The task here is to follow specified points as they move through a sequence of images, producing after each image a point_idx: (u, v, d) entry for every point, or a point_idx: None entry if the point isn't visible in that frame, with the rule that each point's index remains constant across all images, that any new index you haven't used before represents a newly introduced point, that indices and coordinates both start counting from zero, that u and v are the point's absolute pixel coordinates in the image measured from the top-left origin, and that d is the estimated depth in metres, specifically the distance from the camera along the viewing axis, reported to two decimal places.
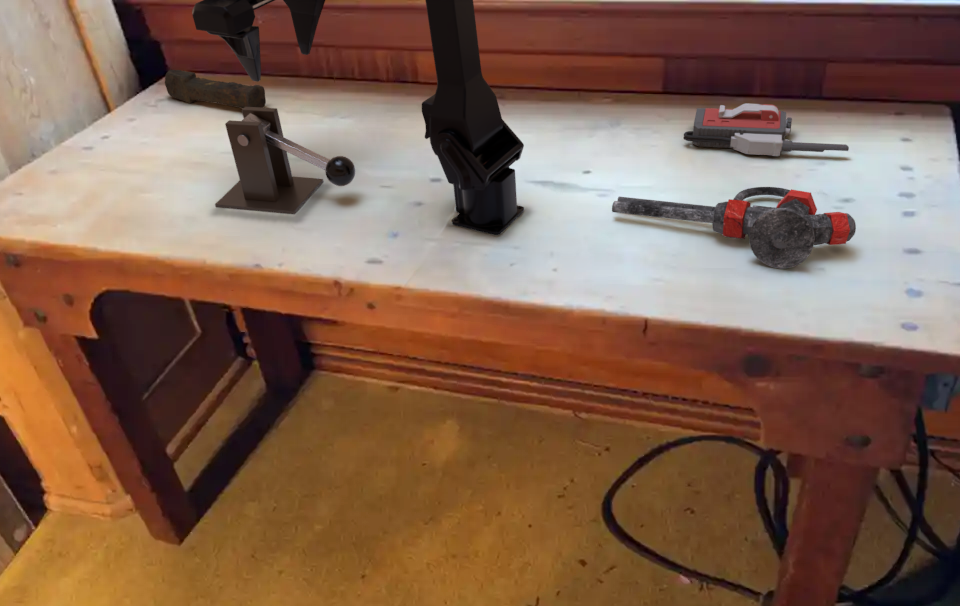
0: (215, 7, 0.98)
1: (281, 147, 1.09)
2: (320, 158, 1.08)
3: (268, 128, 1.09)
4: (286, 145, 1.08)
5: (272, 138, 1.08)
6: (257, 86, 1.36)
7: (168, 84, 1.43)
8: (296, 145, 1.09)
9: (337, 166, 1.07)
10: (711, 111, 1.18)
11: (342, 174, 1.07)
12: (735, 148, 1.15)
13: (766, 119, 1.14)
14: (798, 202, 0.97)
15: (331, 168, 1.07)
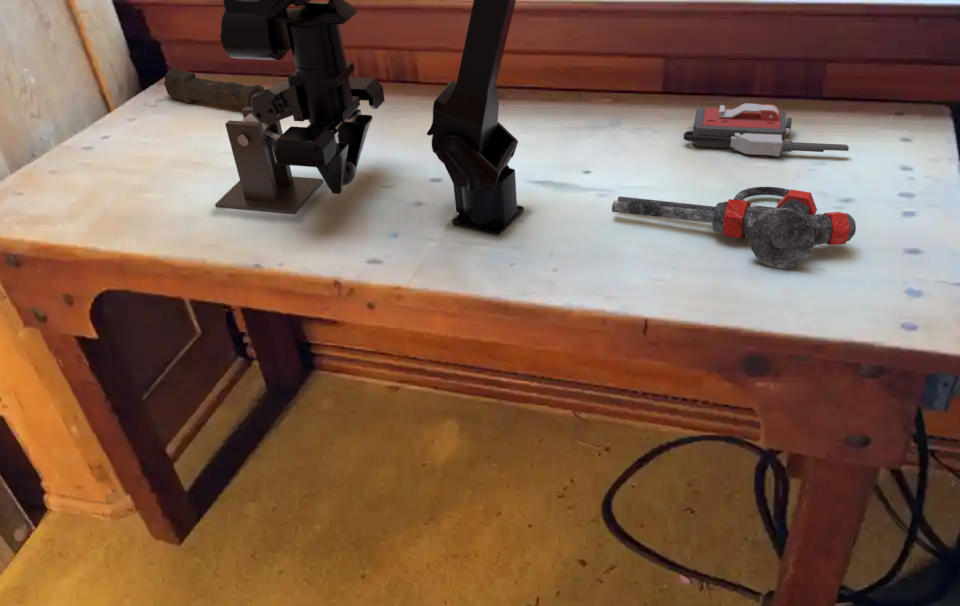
0: (302, 142, 0.97)
1: None
2: None
3: (268, 128, 1.09)
4: None
5: (272, 138, 1.08)
6: (257, 86, 1.36)
7: (167, 84, 1.43)
8: None
9: None
10: (711, 111, 1.18)
11: None
12: (735, 148, 1.15)
13: (766, 119, 1.14)
14: (798, 202, 0.97)
15: None
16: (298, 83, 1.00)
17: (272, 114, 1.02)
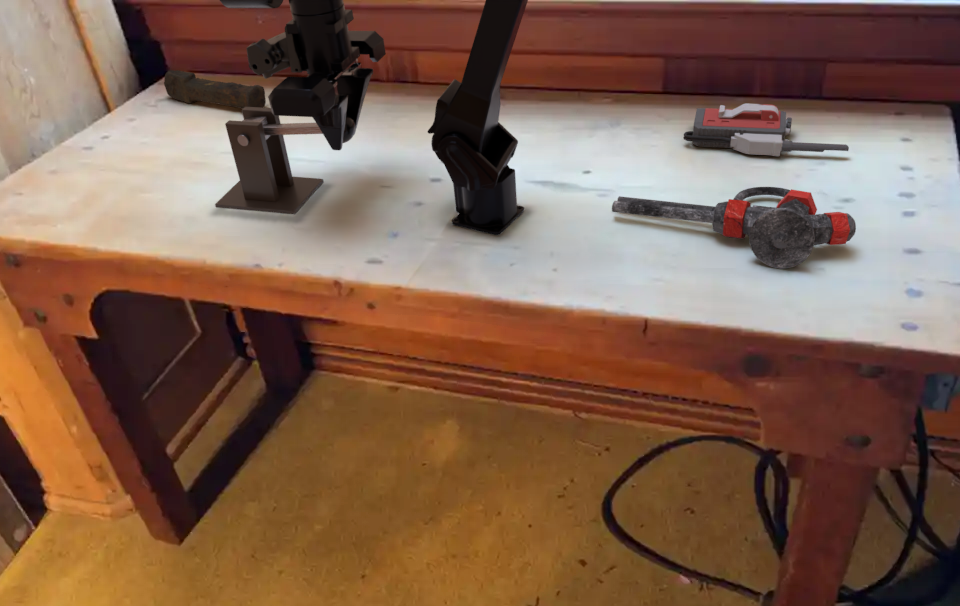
0: (299, 90, 0.93)
1: (281, 132, 1.07)
2: None
3: (265, 122, 1.09)
4: (284, 127, 1.07)
5: (270, 128, 1.07)
6: (257, 86, 1.36)
7: (167, 84, 1.43)
8: (293, 124, 1.07)
9: None
10: (711, 111, 1.18)
11: None
12: (735, 148, 1.15)
13: (766, 119, 1.14)
14: (798, 202, 0.97)
15: None
16: (295, 31, 0.96)
17: (269, 65, 0.98)
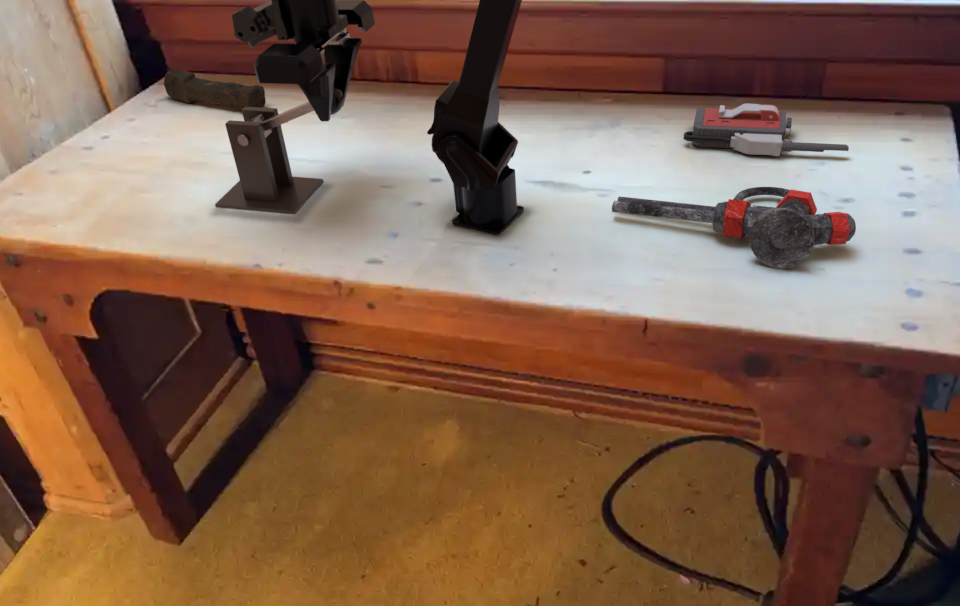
0: (285, 57, 0.91)
1: (277, 123, 1.07)
2: (306, 103, 1.04)
3: (263, 119, 1.08)
4: (278, 117, 1.06)
5: (266, 122, 1.07)
6: (257, 86, 1.36)
7: (167, 85, 1.43)
8: (286, 111, 1.06)
9: None
10: (711, 111, 1.18)
11: None
12: (735, 148, 1.15)
13: (766, 119, 1.14)
14: (798, 202, 0.97)
15: None
16: None
17: (254, 32, 0.96)
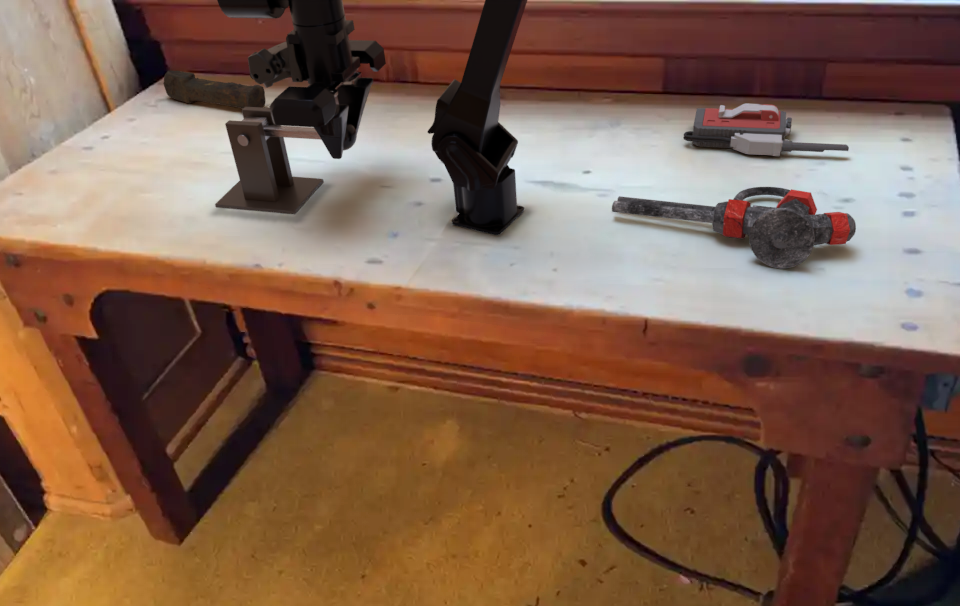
0: (300, 101, 0.94)
1: (281, 135, 1.07)
2: None
3: (266, 123, 1.09)
4: (284, 130, 1.07)
5: (271, 129, 1.07)
6: (257, 86, 1.36)
7: (166, 85, 1.43)
8: (294, 127, 1.07)
9: None
10: (711, 111, 1.18)
11: None
12: (735, 148, 1.15)
13: (766, 119, 1.14)
14: (798, 202, 0.97)
15: None
16: (296, 42, 0.97)
17: (270, 74, 0.99)
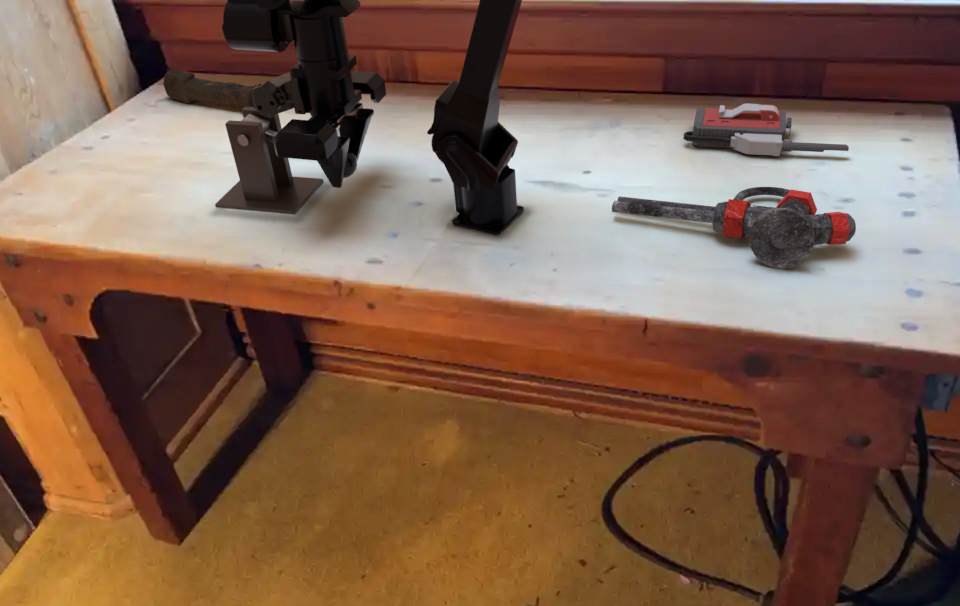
0: (303, 135, 0.97)
1: None
2: None
3: (268, 127, 1.09)
4: None
5: (272, 136, 1.08)
6: None
7: (166, 85, 1.43)
8: None
9: None
10: (711, 111, 1.18)
11: None
12: (735, 148, 1.15)
13: (766, 119, 1.14)
14: (798, 202, 0.97)
15: None
16: (300, 76, 1.00)
17: (273, 106, 1.01)
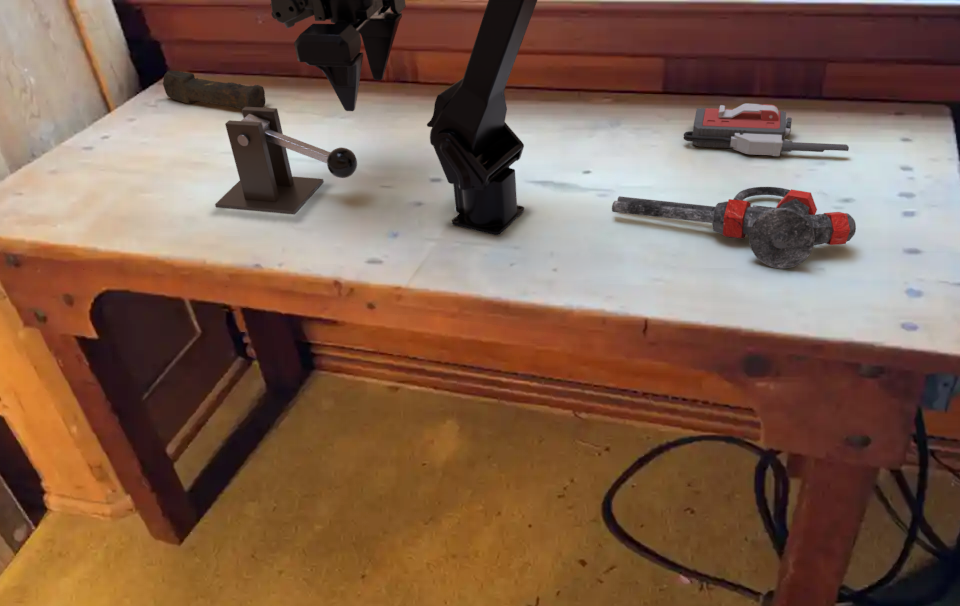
0: (326, 36, 0.93)
1: (282, 144, 1.08)
2: (320, 152, 1.08)
3: (268, 127, 1.09)
4: (286, 141, 1.08)
5: (272, 136, 1.08)
6: (257, 86, 1.36)
7: (166, 85, 1.43)
8: (296, 141, 1.08)
9: (338, 157, 1.06)
10: (711, 111, 1.18)
11: (343, 165, 1.06)
12: (735, 148, 1.15)
13: (766, 119, 1.14)
14: (798, 202, 0.97)
15: (332, 160, 1.06)
16: None
17: (292, 12, 0.97)
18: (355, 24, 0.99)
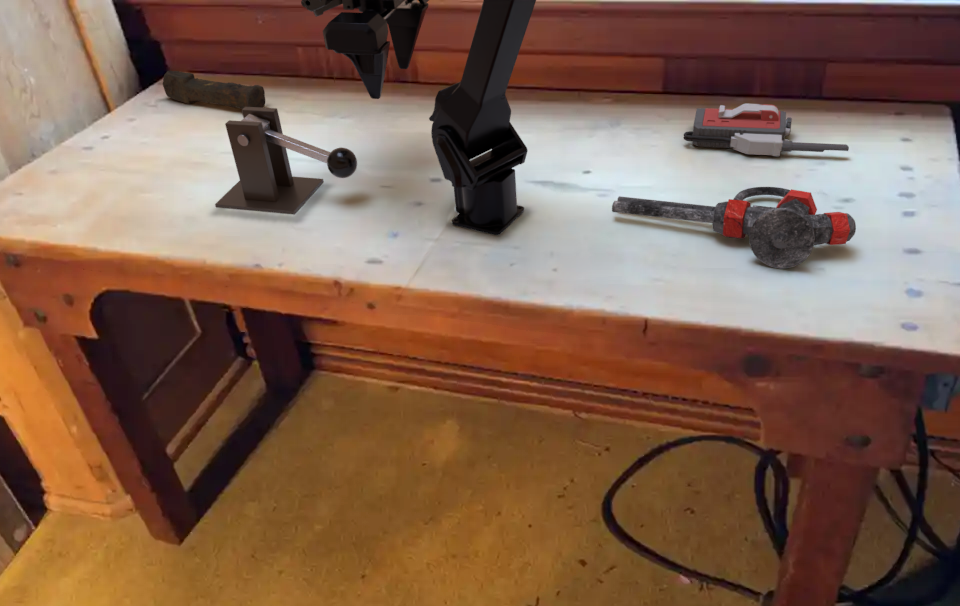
0: (354, 24, 0.95)
1: (282, 144, 1.08)
2: (320, 152, 1.08)
3: (268, 127, 1.09)
4: (286, 141, 1.08)
5: (272, 136, 1.08)
6: (257, 86, 1.36)
7: (166, 85, 1.42)
8: (296, 141, 1.08)
9: (338, 157, 1.06)
10: (711, 111, 1.18)
11: (343, 165, 1.06)
12: (735, 148, 1.15)
13: (766, 119, 1.14)
14: (798, 202, 0.97)
15: (332, 160, 1.06)
16: None
17: (322, 1, 1.00)
18: (382, 14, 1.01)
